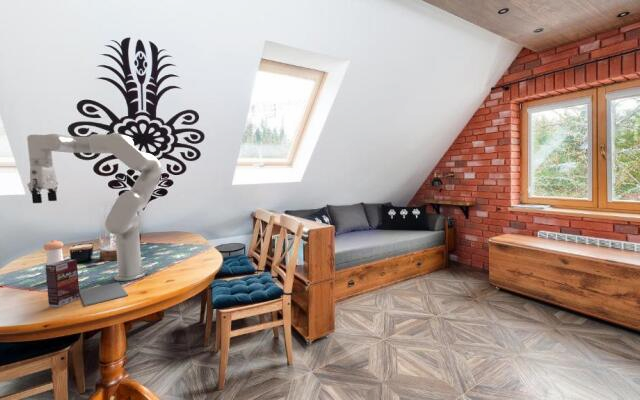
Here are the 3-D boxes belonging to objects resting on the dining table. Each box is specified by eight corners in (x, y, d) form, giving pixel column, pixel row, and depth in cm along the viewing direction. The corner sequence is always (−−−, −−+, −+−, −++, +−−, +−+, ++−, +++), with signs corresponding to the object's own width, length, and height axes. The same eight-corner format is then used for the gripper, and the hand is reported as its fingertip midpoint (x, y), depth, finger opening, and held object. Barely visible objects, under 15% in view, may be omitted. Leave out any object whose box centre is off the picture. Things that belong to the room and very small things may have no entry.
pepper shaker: (59, 283, 140) (55, 241, 139) (42, 283, 140) (38, 242, 138) (71, 277, 148) (67, 238, 146) (54, 278, 147) (50, 238, 145)
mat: (118, 283, 139) (118, 281, 139) (127, 295, 125) (127, 294, 125) (78, 291, 130) (78, 290, 130) (84, 306, 115) (84, 305, 115)
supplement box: (58, 307, 115) (54, 265, 113) (48, 306, 116) (44, 265, 114) (81, 298, 123) (77, 259, 122) (71, 297, 124) (67, 258, 123)
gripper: (37, 162, 129) (41, 203, 131) (63, 163, 146) (66, 199, 148) (16, 163, 128) (20, 204, 129) (45, 163, 145) (48, 200, 146)
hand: (45, 202), depth 138 cm, fingers open, 9 cm apart
